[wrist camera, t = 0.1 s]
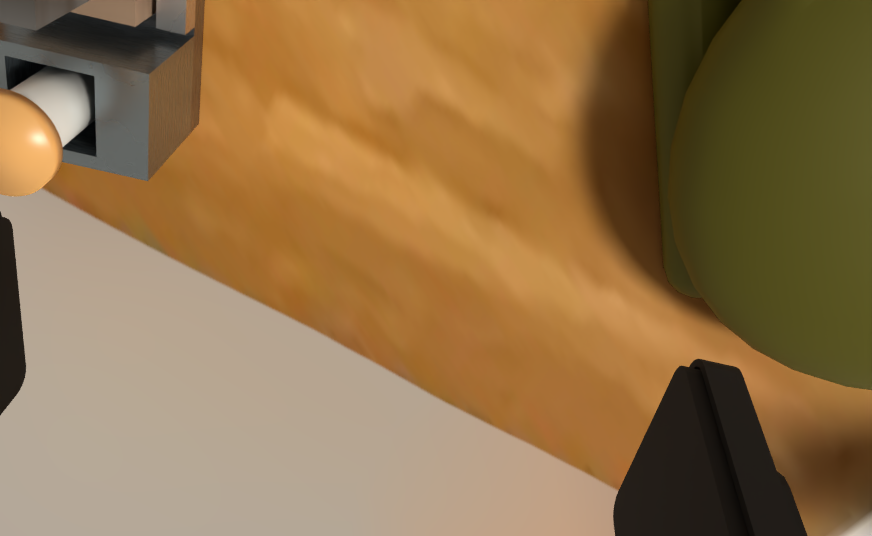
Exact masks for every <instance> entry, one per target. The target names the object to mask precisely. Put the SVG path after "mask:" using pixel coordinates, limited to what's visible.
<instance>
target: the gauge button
mask: <svg viewBox="0 0 872 536" xmlns="http://www.w3.org/2000/svg"><path fill="white" fill-rule="evenodd" d="M95 119H96V118H95V81H94V76H92V75H88V74H83V73H79V72H74V71H70V70H66V69H61V68H57V67H52V66H46V67H45V68H43V69H42V70H40V71H38V72H37V73H35V74H34V75H32V76H31V77H29V78H28V79H26V80H25V81H23V82H22V83H20V84H18V85H17V86H15V87H14V88H12V89H11V90H7V89H3V88H0V194H2V195H8V196H24V195H29V194H32V193H34V192H36V191H38V190H39V189H41V188H42V187H43V186H44V185H45V184H46V183H47V182H49V181H50V180H51V179H52V178H53V177H54V176H55V175H56V174H57V172H58V170H59V169H60V166H61V163H62V159H63V147H64V146H65V145H66V144H67V143H68V142H69V141H71V140H72V139H73V138H74V137H75V136H76V135H78V134H79V133H80V132H81V131H82V130H84V129H85V128H86V127H87V126H88V125H89V124H91V123H92V122H93V121H94V120H95Z"/></svg>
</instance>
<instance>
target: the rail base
mask: <svg viewBox="0 0 872 536" xmlns="http://www.w3.org/2000/svg"><path fill="white" fill-rule="evenodd" d="M204 1H205V0H156V13H154V14H153V15H152V16H150V17H149V18H147V19H146V20H144V21H143V22H142V23H140V24H139V25H137V26H136V27H134V26H129V25H125V24H121V23H116V22H112V21H108V20H103V19H99V18H95V17H90V16H86V15H81V14H77V13H73V12H68V13H67V14H65V15H63V16H61V17H60V18H58V19H56V20H54V21H52V22H51V23H49V24H47V25H45V26H44V27H42V28H40V29H38V30H37V31H36V30H32V29H28V28H23V27H19V26H15V25H10V24H6V23H1V22H0V88H3V89H7V90H11V89H12V88H14V87H15V86H17V85H18V84H20V83H22V82H23V81H25V80H26V79H28V78H29V77H31V76H32V75H34V74H35V73H37V72H38V71H40V70H42V69H43V68H45V67H46V66H52V67H57V68H61V69H66V70H70V71H74V72H79V73H83V74H88V75H92V76H94V81H95V118H96V119H95V120H94V121H93V122H92V123H91V124H89V125H88V126H87V127H86V128H85V129H84V130H82V131H81V132H80V133H79V134H78V135H76V136H75V137H74V138H73V139H72V140H71V141H69V142H68V143H67V144H66V145H65V146H64V147H63V159H62V162H65V163H70V164H74V165H79V166H83V167H88V168H92V169H97V170H101V171H106V172H110V173H114V174H119V175H123V176H128V177H132V178H137V179H141V180H146V181H148V180H149V179H150V178H151V177H152V176H153V175H154V174H155V173H156V171H157V170H158V169H159V168H160V167H161V166H162V165H163V163H164V162H165V161H166V160H167V159H168V158H169V157H170V156H171V154H172V153H173V152H174V151H175V150H176V149H177V148H178V147H179V145H180V144H181V143H182V142H183V141H184V140H185V139H186V137H187V136H188V135H189V134H190V133H191V132H192V131H193V130H194V128H195V127H196V126H197V125H198V124H199V107H200V86H201V65H202V43H203V22H204Z"/></svg>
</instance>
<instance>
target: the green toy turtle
mask: <svg viewBox="0 0 872 536" xmlns="http://www.w3.org/2000/svg"><path fill="white" fill-rule="evenodd" d="M648 15H649V32H650V49H651V65H652V82H653V99H654V116H655V133H656V150H657V167H658V184H659V201H660V218H661V235H662V252H663V268H664V269H665V272H666V275H667V279H668V282H669V283H670V284H671V285H672V286H673V287H674V288H675V289H676V290H677V291H678V292H680V293H682V294H684V295H687V296H689V297H692V298H703V299H704V301H705V302H706V303H707V305H708V306H709V307H710V309H711V310H712V311H713V313H714V314H715V315H716V317H717V318H718V319H719V320H720V322H722V323H723V324H724V325H725V326H726V327H728V328H729V329H730V330H731V331H733V332H734V333H735V334H736V335H737V336H739V337H740V338H741V339H742V340H743V341H745V342H746V343H747V344H748V345H749V346H751V347H752V348H753V349H755V350H757V351H759V352H760V353H762V354H764V355H766V356H768V357H770V358H772V359H774V360H776V361H777V362H779V363H781V364H783V365H785V366H787V367H789V368H791V369H793V370H796V371H799V372H802V373H805V374H808V375H811V376H814V377H818V378H821V379H824V380H827V381H830V382H834V383H837V384H840V385H843V386H847V387H854V388H861V389H868V390H872V0H648Z"/></svg>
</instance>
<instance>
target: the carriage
mask: <svg viewBox="0 0 872 536" xmlns="http://www.w3.org/2000/svg"><path fill="white" fill-rule="evenodd" d="M68 12H73V13H77V14H81V15H86V16H90V17H95V18H99V19H103V20H108V21H112V22H116V23H121V24H125V25H129V26H134V27H136V26H137V25H139V24H140V23H142V22H143V21H144V20H146V19H147V18H149V17H150V16H152V15H153V14H154V13H156V0H0V22H1V23H6V24H10V25H15V26H19V27H23V28H28V29H32V30H36V31H37V30H38V29H40V28H42V27H44V26H45V25H47V24H49V23H51V22H52V21H54V20H56V19H58V18H60V17H61V16H63V15H65V14H67V13H68Z"/></svg>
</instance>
